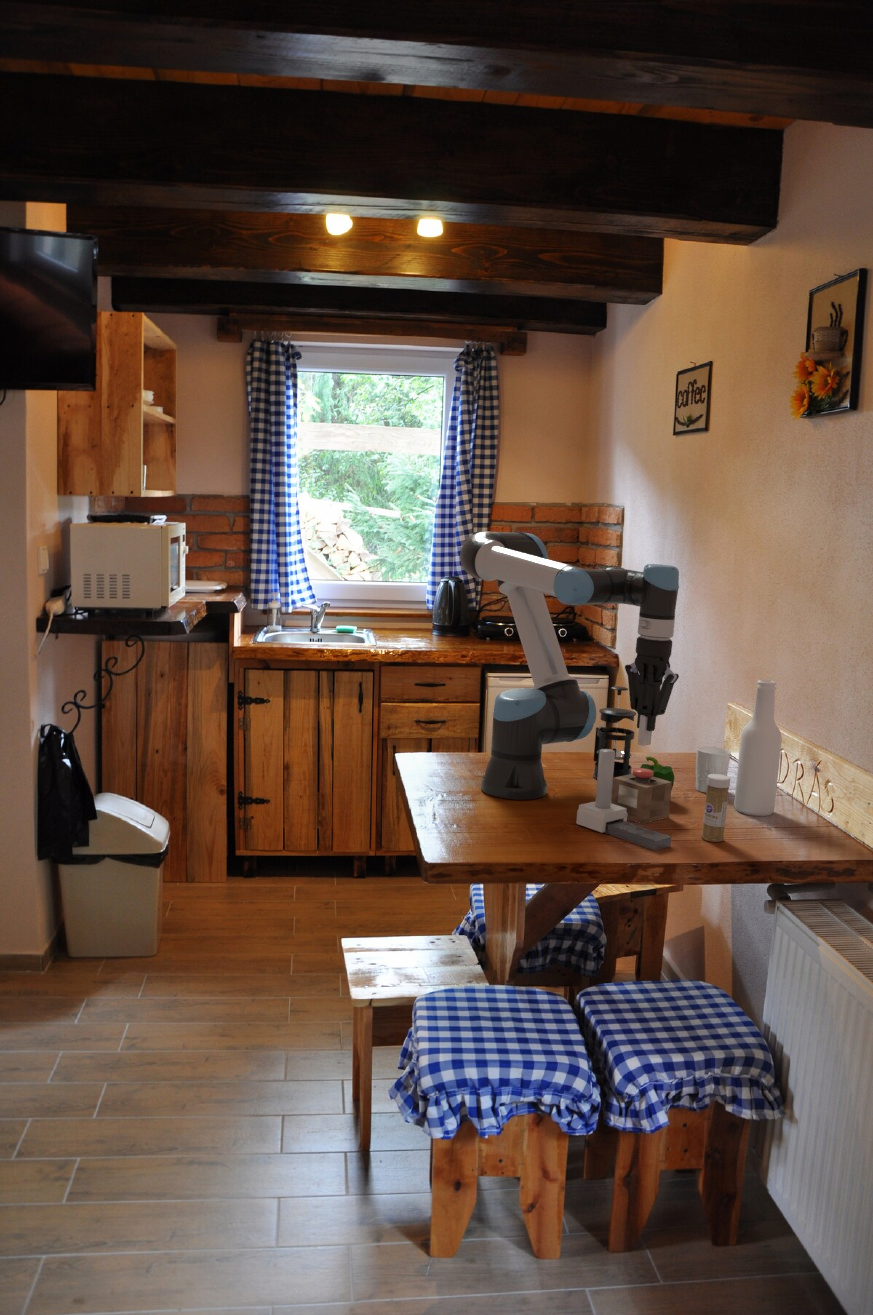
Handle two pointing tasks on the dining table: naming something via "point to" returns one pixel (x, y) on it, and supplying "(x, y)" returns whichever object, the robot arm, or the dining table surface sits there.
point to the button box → (642, 798)
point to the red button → (642, 775)
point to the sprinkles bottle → (715, 807)
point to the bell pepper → (660, 770)
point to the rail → (638, 834)
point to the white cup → (710, 764)
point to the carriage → (602, 797)
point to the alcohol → (759, 756)
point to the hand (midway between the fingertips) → (644, 744)
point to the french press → (615, 737)
